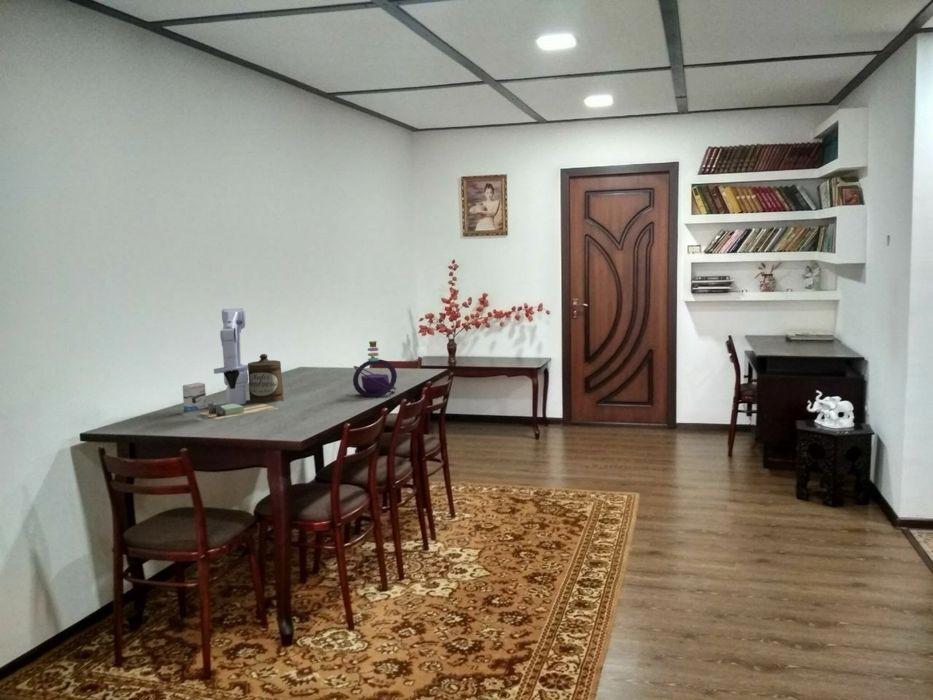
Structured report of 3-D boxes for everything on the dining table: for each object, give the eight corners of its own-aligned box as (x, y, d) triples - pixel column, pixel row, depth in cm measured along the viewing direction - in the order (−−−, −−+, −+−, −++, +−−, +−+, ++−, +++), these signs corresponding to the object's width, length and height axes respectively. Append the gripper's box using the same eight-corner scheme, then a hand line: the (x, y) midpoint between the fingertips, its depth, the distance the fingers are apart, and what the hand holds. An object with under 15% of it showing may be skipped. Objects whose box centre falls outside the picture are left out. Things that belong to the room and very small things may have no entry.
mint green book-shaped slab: (216, 412, 323) (215, 406, 323) (234, 409, 328) (233, 403, 328) (225, 415, 316) (225, 409, 315) (244, 412, 321) (243, 406, 321)
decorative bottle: (344, 397, 353) (341, 344, 350) (361, 389, 373) (359, 338, 370) (390, 398, 347) (388, 343, 344) (405, 390, 368) (403, 338, 365)
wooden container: (245, 405, 342) (242, 356, 339) (255, 399, 357) (252, 352, 354) (278, 404, 342) (275, 355, 339) (287, 398, 356) (284, 351, 354)
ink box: (191, 413, 328) (189, 386, 327) (183, 412, 331) (181, 385, 329) (207, 409, 335) (205, 382, 334) (199, 408, 338) (197, 382, 336)
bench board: (198, 415, 323) (198, 413, 323) (260, 405, 341) (260, 403, 341) (216, 421, 309) (215, 419, 309) (279, 410, 327) (279, 408, 327)
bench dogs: (207, 413, 321) (207, 403, 321) (214, 412, 323) (213, 402, 323) (218, 416, 313) (217, 407, 313) (225, 415, 315) (224, 406, 315)
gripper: (217, 359, 316) (220, 391, 317) (250, 355, 325) (252, 387, 327) (210, 358, 321) (213, 390, 323) (243, 354, 330) (245, 385, 332)
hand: (232, 388), depth 325 cm, fingers closed
